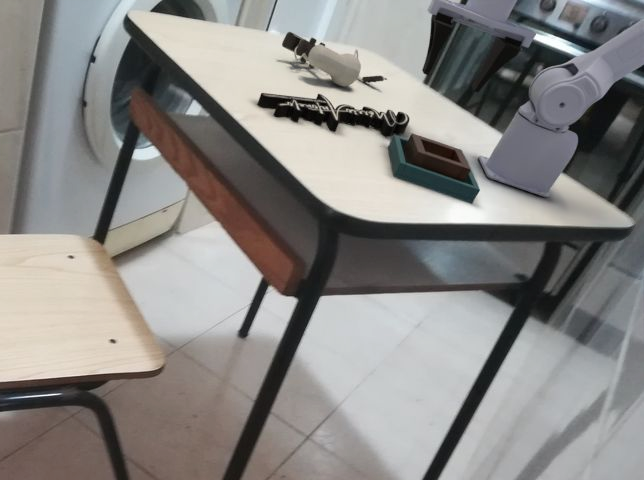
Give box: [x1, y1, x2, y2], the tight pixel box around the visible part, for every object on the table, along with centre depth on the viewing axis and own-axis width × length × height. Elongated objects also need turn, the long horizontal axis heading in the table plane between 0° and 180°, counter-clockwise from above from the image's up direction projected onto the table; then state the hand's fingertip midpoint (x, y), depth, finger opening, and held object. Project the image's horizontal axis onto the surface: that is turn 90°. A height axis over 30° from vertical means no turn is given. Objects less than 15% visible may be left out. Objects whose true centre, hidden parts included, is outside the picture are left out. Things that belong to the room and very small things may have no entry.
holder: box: [387, 134, 481, 204], centre depth 92 cm, size 11×11×2 cm
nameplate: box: [257, 92, 410, 138], centre depth 100 cm, size 28×2×10 cm
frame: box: [403, 132, 472, 182], centre depth 91 cm, size 8×7×3 cm
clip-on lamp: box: [281, 31, 388, 87], centre depth 115 cm, size 12×6×18 cm
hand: (450, 81), depth 96 cm, fingers open, 7 cm apart
